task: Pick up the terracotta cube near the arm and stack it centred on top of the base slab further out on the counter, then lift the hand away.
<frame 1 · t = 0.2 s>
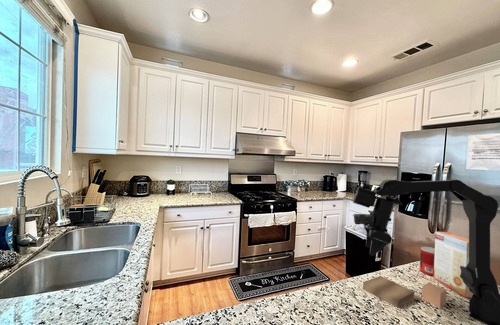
hand: (369, 251, 79), 15 cm above the counter, tool pointing down, fingers open, 9 cm apart
cracker box: (455, 288, 85), on the counter
canned food: (430, 273, 97), on the counter
cube: (433, 301, 75), on the counter
base slab: (387, 294, 79), on the counter
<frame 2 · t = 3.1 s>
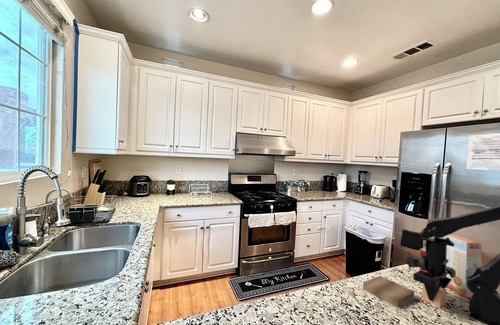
hand: (434, 298, 75), 1 cm above the counter, tool pointing down, fingers closed on cube, 5 cm apart
cube: (433, 301, 75), on the counter, touching gripper
everything else where it was.
when the fingers open (5 cm above the counter, at t = 7.4 s): cube drops 2 cm, resting on base slab.
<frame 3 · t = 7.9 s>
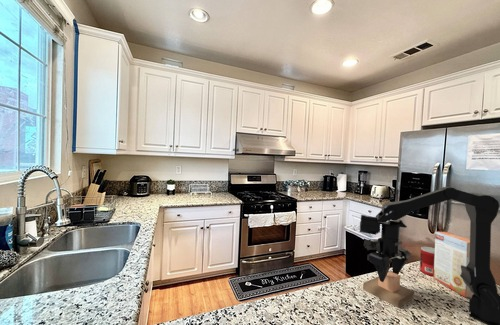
hand: (388, 278, 79), 5 cm above the counter, tool pointing down, fingers open, 9 cm apart
cube: (388, 287, 79), point 2 cm above the counter, touching base slab
base slab: (387, 295, 79), on the counter, touching cube
everything else where it was.
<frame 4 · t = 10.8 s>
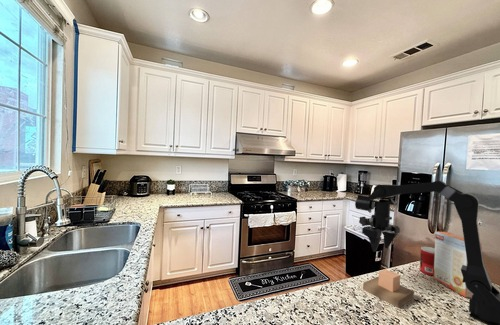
hand: (380, 249, 90), 12 cm above the counter, tool pointing down, fingers open, 9 cm apart
nothing on the counter moved.
at the end: cube inside the target area on the base slab (0.4 cm from its centre), point 3.0 cm above the base slab's base; cube tilted 0°; the gripper is holding nothing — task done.
